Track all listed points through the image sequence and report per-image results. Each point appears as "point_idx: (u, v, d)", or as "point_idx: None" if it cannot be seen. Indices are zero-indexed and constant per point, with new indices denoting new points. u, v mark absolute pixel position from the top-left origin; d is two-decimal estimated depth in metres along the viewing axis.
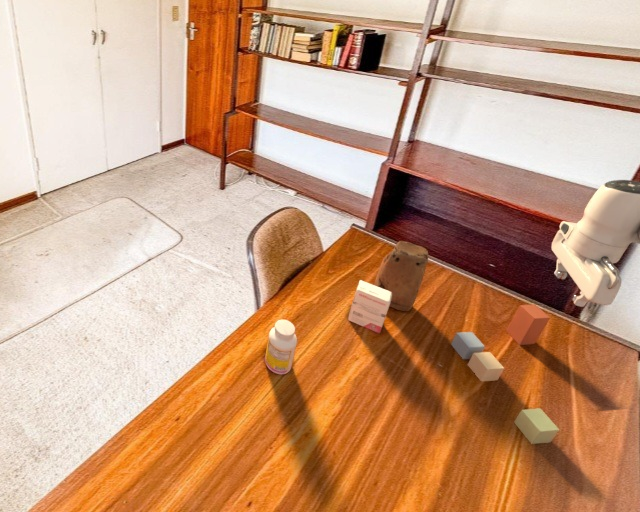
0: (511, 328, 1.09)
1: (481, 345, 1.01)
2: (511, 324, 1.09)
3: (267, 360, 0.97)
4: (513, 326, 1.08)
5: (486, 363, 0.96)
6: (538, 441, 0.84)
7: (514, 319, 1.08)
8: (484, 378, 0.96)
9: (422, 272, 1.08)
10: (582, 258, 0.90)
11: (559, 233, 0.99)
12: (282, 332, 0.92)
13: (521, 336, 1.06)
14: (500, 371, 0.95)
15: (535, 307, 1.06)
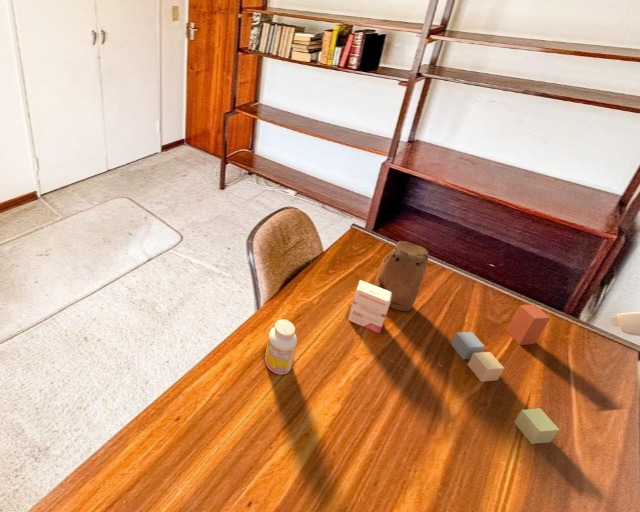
0: (511, 328, 1.09)
1: (481, 345, 1.01)
2: (511, 324, 1.09)
3: (267, 360, 0.97)
4: (513, 326, 1.08)
5: (486, 363, 0.96)
6: (538, 441, 0.84)
7: (514, 319, 1.08)
8: (484, 378, 0.96)
9: (422, 272, 1.08)
10: None
11: None
12: (282, 332, 0.92)
13: (521, 336, 1.06)
14: (500, 371, 0.95)
15: (535, 307, 1.06)
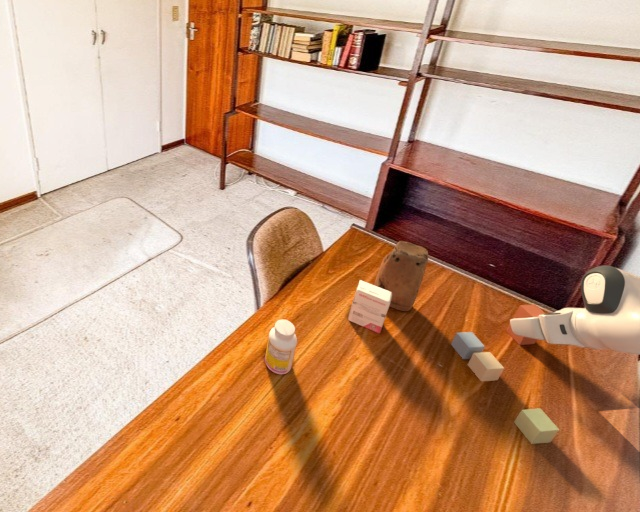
0: None
1: (481, 345, 1.01)
2: None
3: (267, 360, 0.97)
4: None
5: (486, 363, 0.96)
6: (538, 441, 0.84)
7: None
8: (484, 378, 0.96)
9: (422, 272, 1.08)
10: None
11: None
12: (282, 332, 0.92)
13: (521, 336, 1.06)
14: (500, 371, 0.95)
15: (535, 307, 1.06)
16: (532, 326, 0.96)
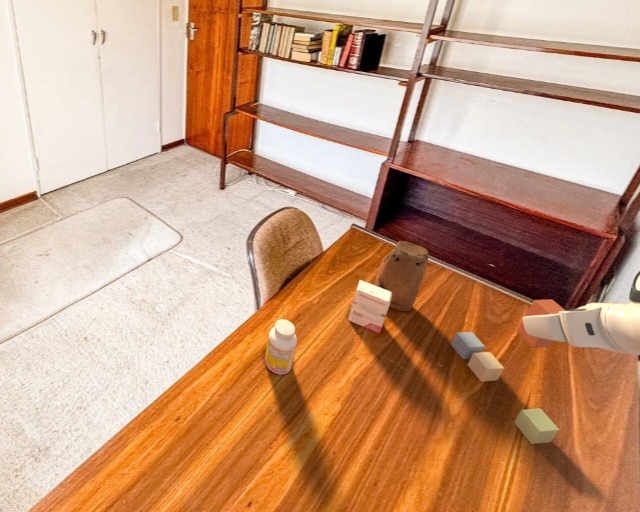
0: (523, 327, 0.91)
1: (481, 345, 1.01)
2: None
3: (267, 360, 0.97)
4: None
5: (486, 363, 0.96)
6: (538, 441, 0.84)
7: None
8: (484, 378, 0.96)
9: (422, 272, 1.08)
10: None
11: None
12: (282, 332, 0.92)
13: (536, 337, 0.88)
14: (500, 371, 0.95)
15: (552, 302, 0.88)
16: (550, 325, 0.78)
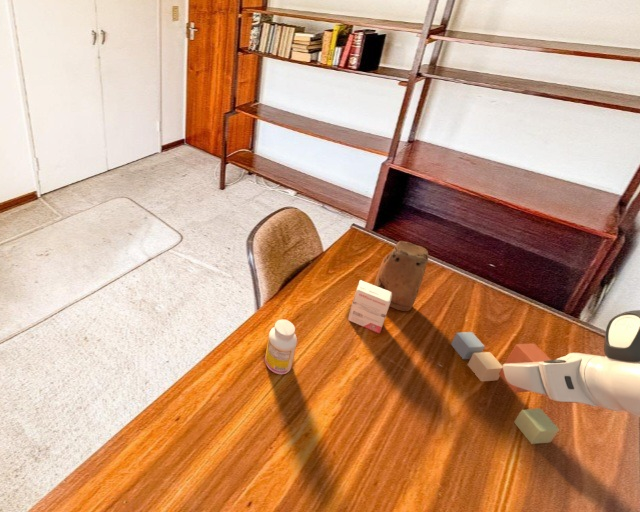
0: None
1: (481, 345, 1.01)
2: None
3: (267, 360, 0.97)
4: None
5: (486, 363, 0.96)
6: (538, 441, 0.84)
7: (508, 361, 0.89)
8: (484, 378, 0.96)
9: (422, 272, 1.08)
10: None
11: None
12: (282, 332, 0.92)
13: None
14: None
15: (534, 347, 0.87)
16: (530, 376, 0.77)
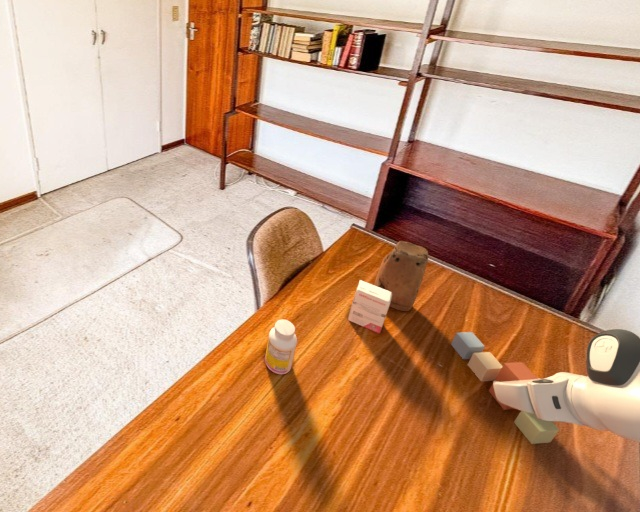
0: None
1: (481, 345, 1.01)
2: None
3: (267, 360, 0.97)
4: None
5: (486, 363, 0.96)
6: (538, 441, 0.84)
7: (497, 379, 0.92)
8: (484, 378, 0.96)
9: (422, 272, 1.08)
10: None
11: None
12: (282, 332, 0.92)
13: None
14: None
15: (522, 366, 0.89)
16: (519, 395, 0.79)
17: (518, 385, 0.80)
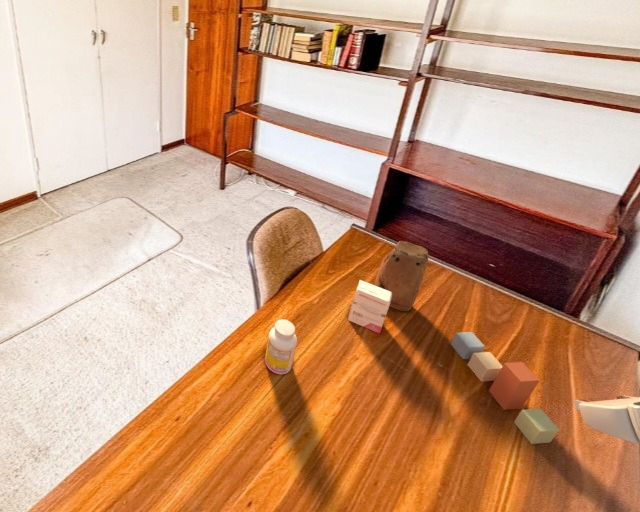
0: (494, 388, 0.93)
1: (481, 345, 1.01)
2: (494, 384, 0.93)
3: (267, 360, 0.97)
4: (497, 387, 0.92)
5: (486, 363, 0.96)
6: (538, 441, 0.84)
7: (497, 379, 0.92)
8: (484, 378, 0.96)
9: (422, 272, 1.08)
10: None
11: None
12: (282, 332, 0.92)
13: (506, 400, 0.90)
14: None
15: (522, 366, 0.90)
16: (617, 420, 0.66)
17: (615, 408, 0.66)
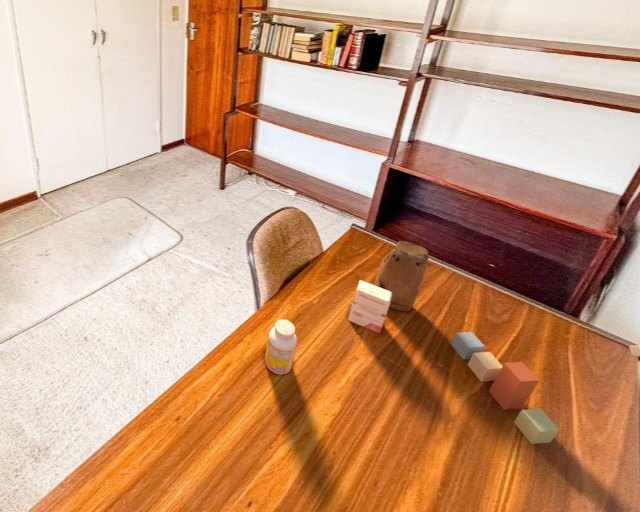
0: (494, 388, 0.93)
1: (481, 345, 1.01)
2: (494, 384, 0.93)
3: (267, 360, 0.97)
4: (497, 387, 0.92)
5: (486, 363, 0.96)
6: (538, 441, 0.84)
7: (497, 379, 0.92)
8: (484, 378, 0.96)
9: (422, 272, 1.08)
10: None
11: None
12: (282, 332, 0.92)
13: (506, 400, 0.90)
14: None
15: (522, 366, 0.90)
16: None
17: None
